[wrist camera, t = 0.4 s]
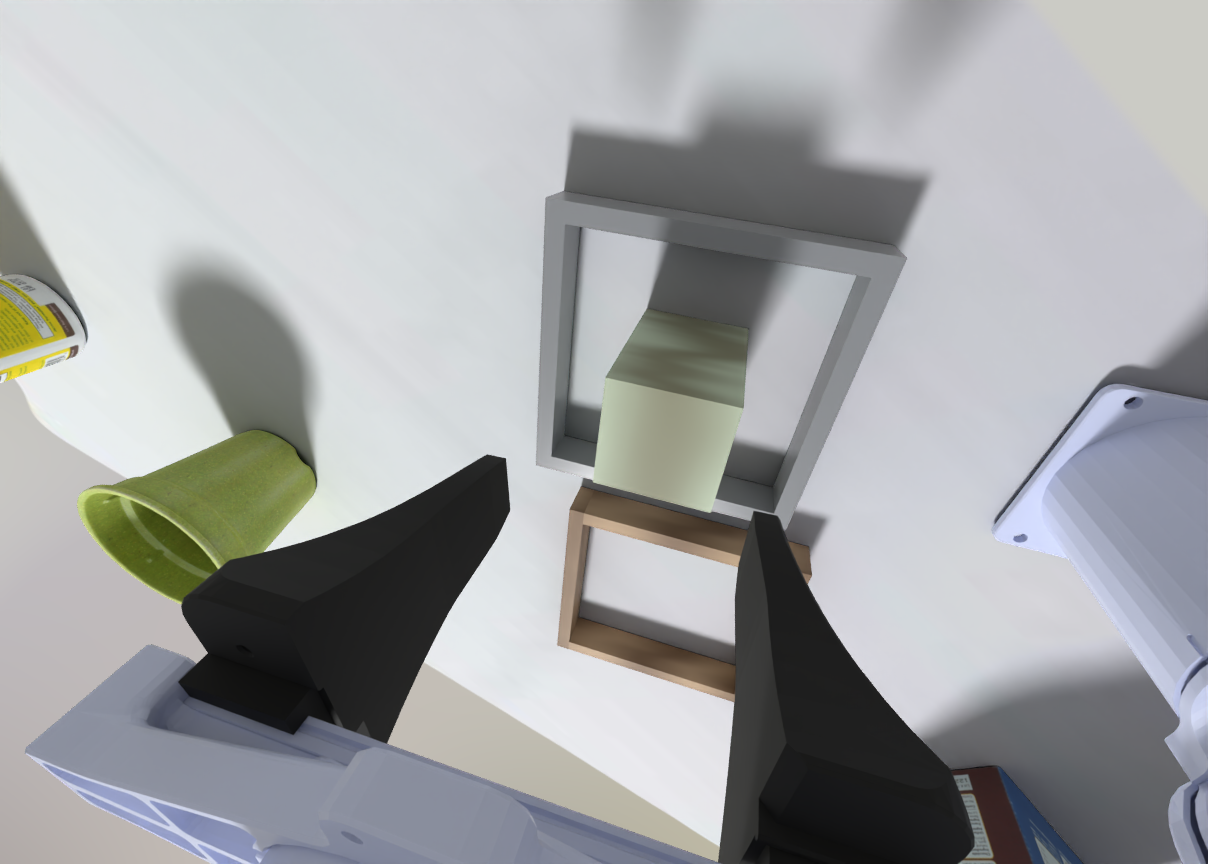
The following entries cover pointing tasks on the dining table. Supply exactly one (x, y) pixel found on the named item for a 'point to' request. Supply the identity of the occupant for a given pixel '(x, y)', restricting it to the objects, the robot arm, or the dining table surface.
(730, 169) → the dining table surface
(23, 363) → the supplement bottle
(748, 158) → the dining table surface
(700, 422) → the sage block
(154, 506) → the plant pot
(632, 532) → the brown wooden square frame
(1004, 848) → the protein box
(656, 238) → the charcoal bin
